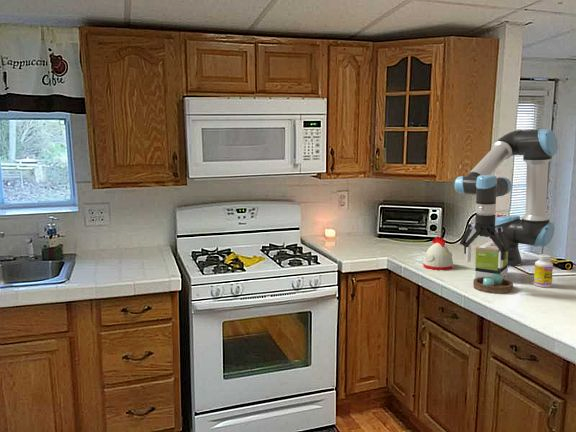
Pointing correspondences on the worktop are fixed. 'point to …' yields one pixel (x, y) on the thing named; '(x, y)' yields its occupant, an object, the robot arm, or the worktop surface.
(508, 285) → the walnut tray
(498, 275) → the teal bead
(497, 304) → the worktop surface
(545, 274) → the supplement bottle
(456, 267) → the worktop surface
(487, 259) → the tea box
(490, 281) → the teal bead
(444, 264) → the kitchen timer
